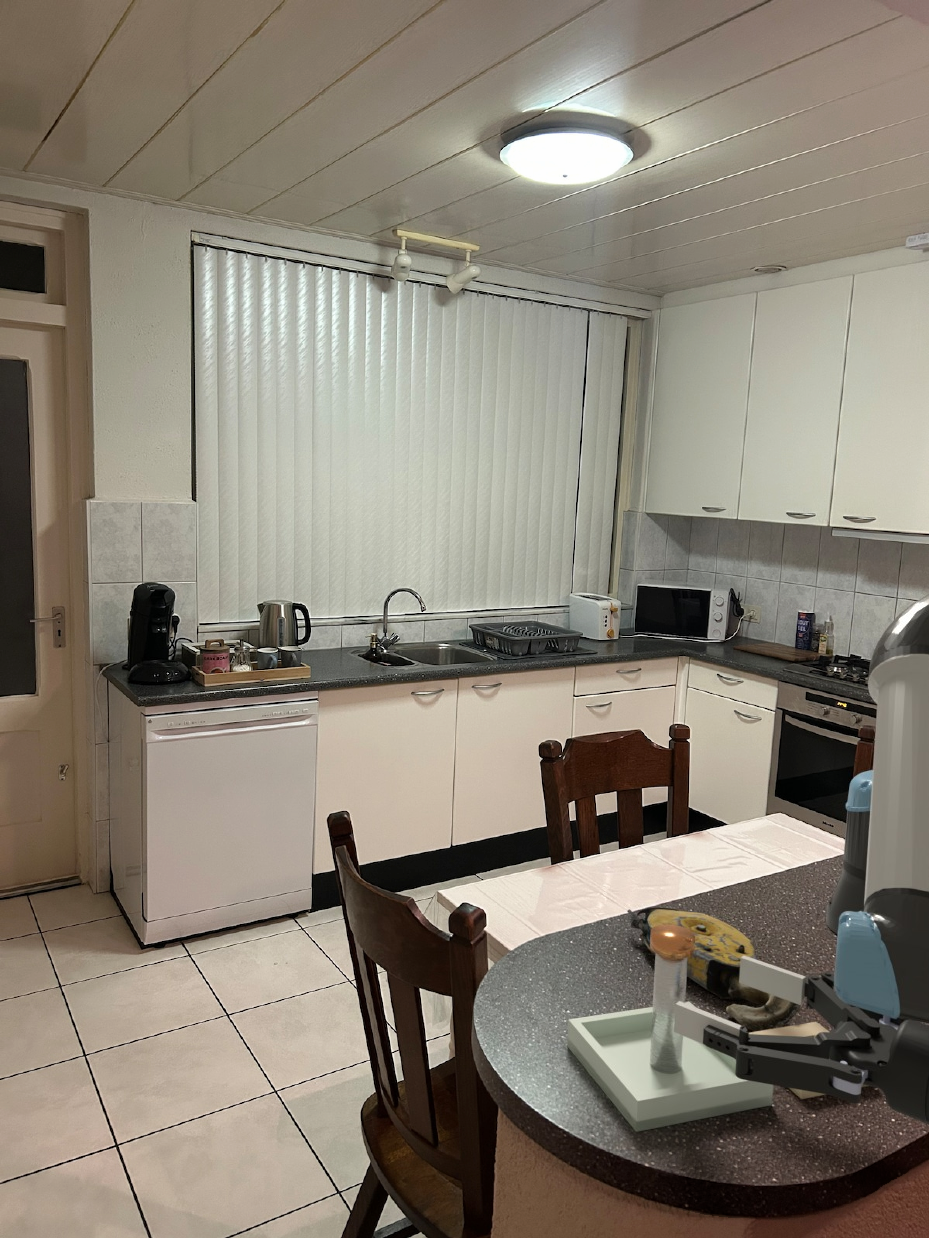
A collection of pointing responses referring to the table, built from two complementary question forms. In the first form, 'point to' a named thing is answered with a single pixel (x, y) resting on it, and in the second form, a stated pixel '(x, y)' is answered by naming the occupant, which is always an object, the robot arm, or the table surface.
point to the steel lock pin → (668, 993)
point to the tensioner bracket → (801, 1031)
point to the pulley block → (720, 965)
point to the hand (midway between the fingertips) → (710, 991)
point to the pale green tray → (659, 1073)
